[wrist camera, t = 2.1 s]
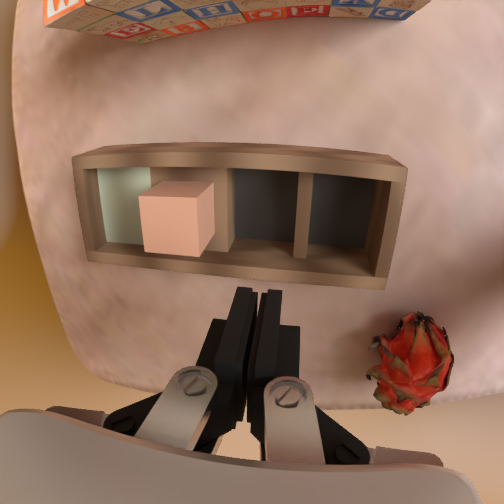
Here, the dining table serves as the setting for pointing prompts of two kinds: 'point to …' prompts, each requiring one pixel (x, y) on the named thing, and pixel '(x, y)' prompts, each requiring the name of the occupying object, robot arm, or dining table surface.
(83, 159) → the box
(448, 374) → the dragon fruit
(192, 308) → the dining table surface
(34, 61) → the dining table surface
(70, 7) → the stack of blocks
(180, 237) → the terracotta block
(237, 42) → the dining table surface
